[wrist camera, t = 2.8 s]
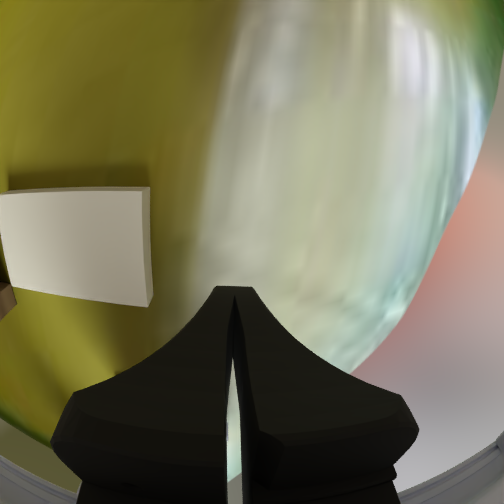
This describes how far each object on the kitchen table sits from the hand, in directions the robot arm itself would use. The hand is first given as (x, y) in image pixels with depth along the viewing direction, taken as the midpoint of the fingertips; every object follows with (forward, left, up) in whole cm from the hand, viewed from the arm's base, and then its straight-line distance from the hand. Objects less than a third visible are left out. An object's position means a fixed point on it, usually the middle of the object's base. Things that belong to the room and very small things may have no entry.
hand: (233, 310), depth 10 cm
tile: (+11, 0, -8) cm, 13 cm away
